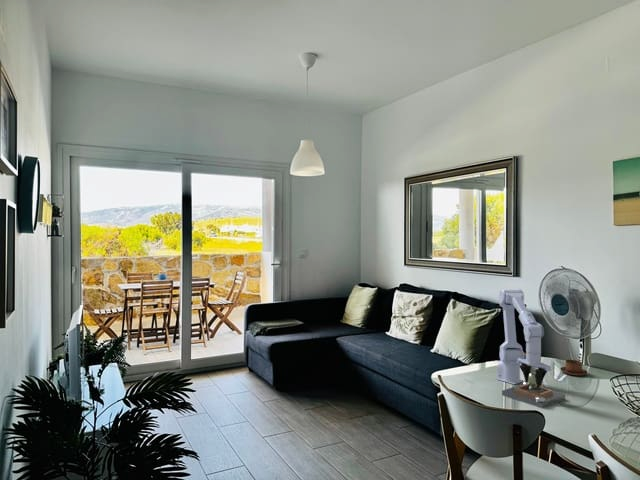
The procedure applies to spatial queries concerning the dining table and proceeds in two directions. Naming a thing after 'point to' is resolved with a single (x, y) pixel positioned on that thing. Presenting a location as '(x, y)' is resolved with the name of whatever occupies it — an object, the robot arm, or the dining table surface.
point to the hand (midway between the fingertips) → (533, 383)
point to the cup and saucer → (573, 368)
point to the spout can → (532, 381)
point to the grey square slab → (533, 395)
